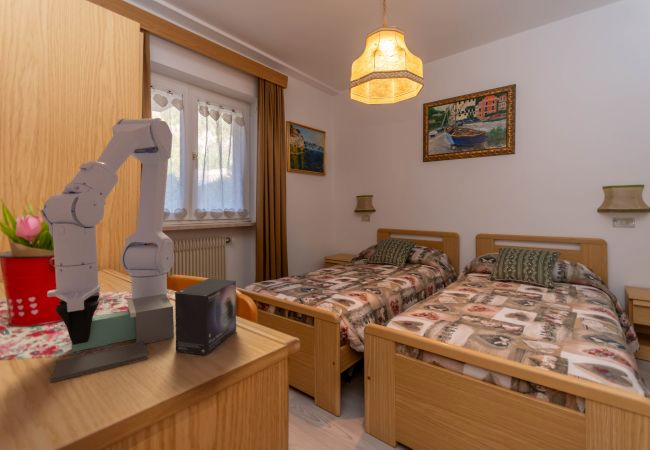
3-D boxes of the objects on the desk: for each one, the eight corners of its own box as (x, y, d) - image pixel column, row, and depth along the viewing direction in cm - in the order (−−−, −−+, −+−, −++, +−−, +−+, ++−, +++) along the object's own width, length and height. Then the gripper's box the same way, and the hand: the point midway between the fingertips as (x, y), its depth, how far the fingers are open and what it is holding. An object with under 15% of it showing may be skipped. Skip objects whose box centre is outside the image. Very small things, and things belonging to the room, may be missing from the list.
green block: (73, 346, 55) (71, 320, 55) (138, 333, 61) (137, 309, 60) (72, 352, 53) (70, 324, 53) (140, 337, 59) (138, 312, 58)
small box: (208, 356, 52) (206, 295, 51) (173, 352, 53) (171, 292, 52) (238, 330, 62) (237, 279, 61) (209, 328, 63) (207, 277, 63)
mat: (56, 364, 49) (55, 360, 49) (143, 344, 56) (143, 341, 56) (50, 382, 44) (50, 378, 44) (147, 358, 51) (147, 354, 51)
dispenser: (128, 328, 63) (127, 299, 62) (166, 321, 67) (165, 293, 66) (131, 346, 55) (130, 313, 55) (174, 337, 59) (172, 305, 58)
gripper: (51, 259, 57) (56, 330, 58) (38, 274, 45) (44, 363, 46) (99, 255, 61) (102, 322, 62) (98, 268, 49) (102, 350, 50)
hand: (81, 339), depth 55 cm, fingers closed on green block, 2 cm apart
